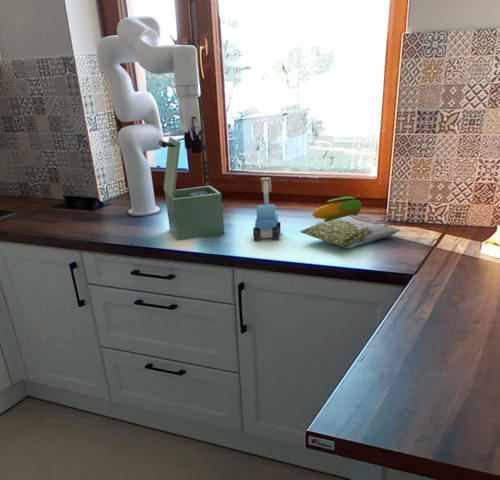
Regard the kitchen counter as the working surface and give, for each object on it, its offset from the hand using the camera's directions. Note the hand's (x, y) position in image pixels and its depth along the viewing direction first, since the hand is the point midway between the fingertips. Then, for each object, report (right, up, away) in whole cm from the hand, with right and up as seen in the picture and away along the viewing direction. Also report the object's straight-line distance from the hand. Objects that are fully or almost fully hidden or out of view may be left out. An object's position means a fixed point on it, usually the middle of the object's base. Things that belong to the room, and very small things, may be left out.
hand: (193, 150), depth 192 cm
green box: (0, -23, +13) cm, 26 cm away
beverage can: (+2, -22, +13) cm, 26 cm away
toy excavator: (+25, -26, +5) cm, 37 cm away
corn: (+50, -18, +16) cm, 55 cm away
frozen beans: (+51, -31, -5) cm, 60 cm away
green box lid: (-7, -5, 0) cm, 9 cm away
